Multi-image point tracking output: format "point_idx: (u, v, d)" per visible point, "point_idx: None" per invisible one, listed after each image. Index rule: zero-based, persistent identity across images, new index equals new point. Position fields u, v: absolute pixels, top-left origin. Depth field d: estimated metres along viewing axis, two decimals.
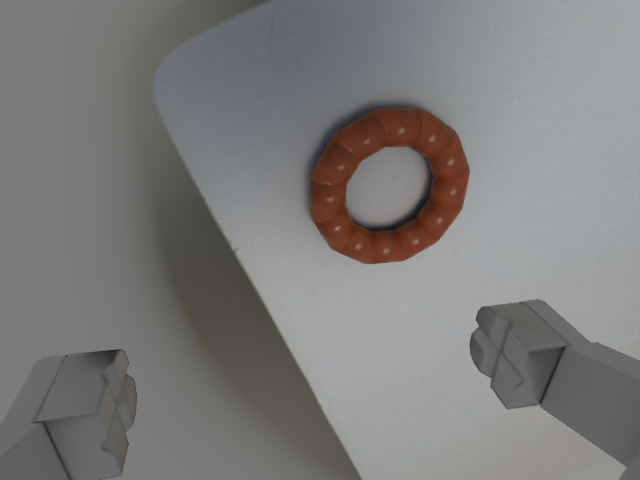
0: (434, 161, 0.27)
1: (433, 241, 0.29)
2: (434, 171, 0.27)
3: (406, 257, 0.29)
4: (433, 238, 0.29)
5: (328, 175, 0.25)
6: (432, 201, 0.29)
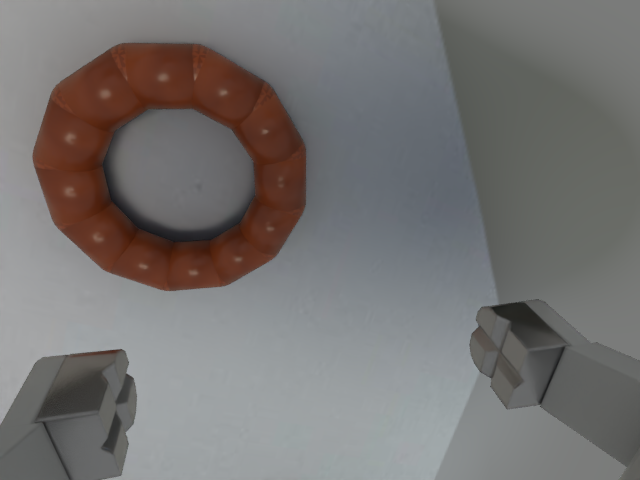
0: (238, 236, 0.19)
1: (106, 264, 0.18)
2: (221, 240, 0.19)
3: (65, 228, 0.17)
4: (111, 264, 0.18)
5: (210, 73, 0.15)
6: (172, 248, 0.19)
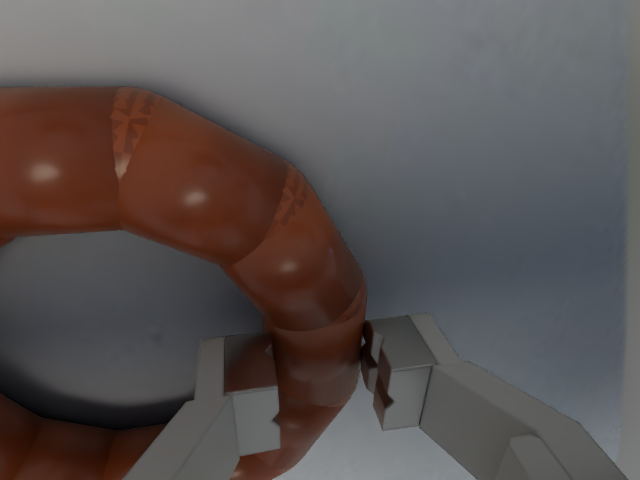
0: None
1: None
2: None
3: None
4: None
5: (159, 162, 0.06)
6: (107, 458, 0.10)
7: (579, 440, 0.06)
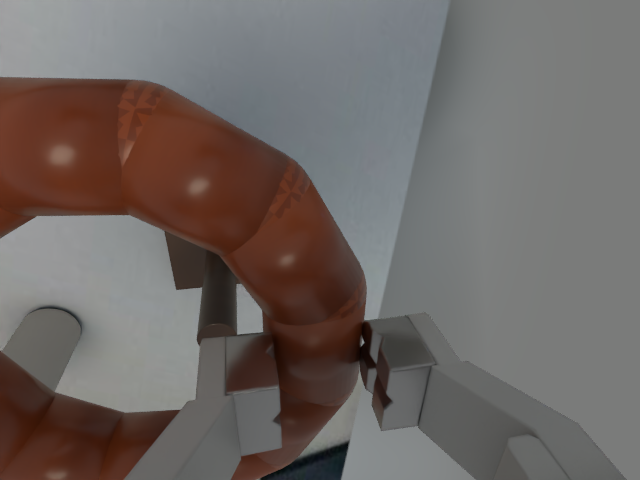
0: None
1: None
2: None
3: None
4: None
5: (160, 150, 0.06)
6: (111, 437, 0.11)
7: (577, 440, 0.06)
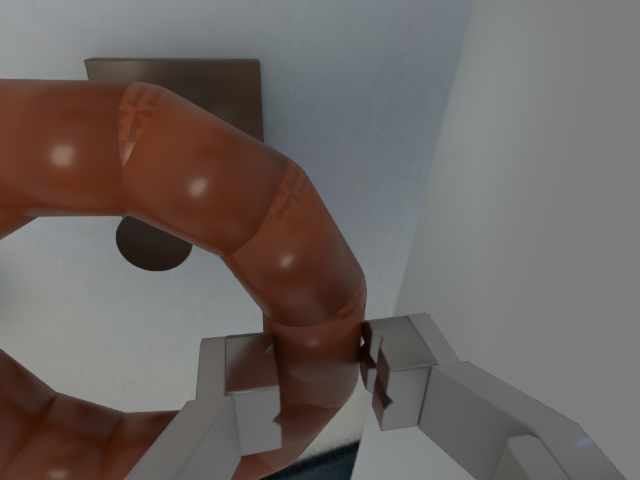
0: None
1: None
2: None
3: None
4: None
5: (161, 152, 0.06)
6: (112, 437, 0.11)
7: (577, 440, 0.06)
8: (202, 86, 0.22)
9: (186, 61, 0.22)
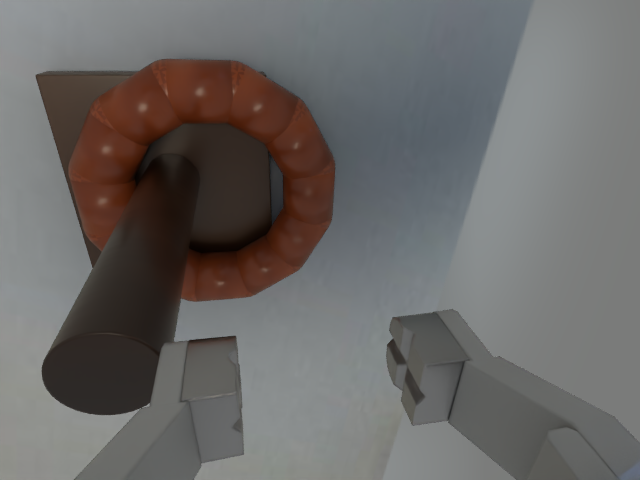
0: (265, 248, 0.19)
1: None
2: (248, 251, 0.20)
3: (97, 240, 0.17)
4: None
5: (248, 89, 0.15)
6: (199, 259, 0.19)
7: (615, 433, 0.06)
8: None
9: None
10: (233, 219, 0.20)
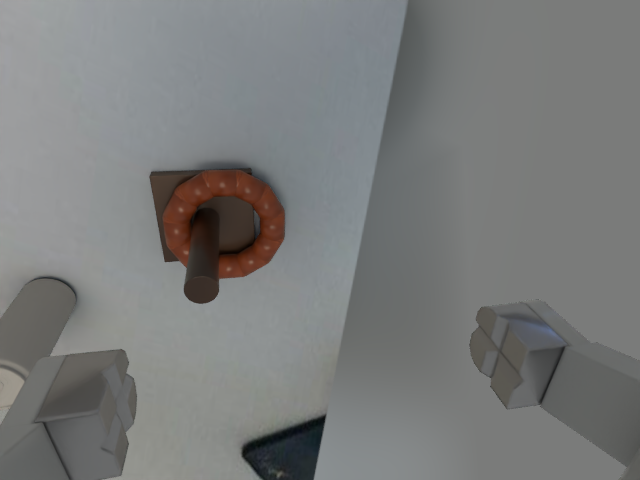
0: (251, 252, 0.39)
1: None
2: (243, 253, 0.40)
3: (173, 248, 0.37)
4: None
5: (243, 183, 0.36)
6: (219, 257, 0.39)
7: None
8: None
9: None
10: (235, 237, 0.40)
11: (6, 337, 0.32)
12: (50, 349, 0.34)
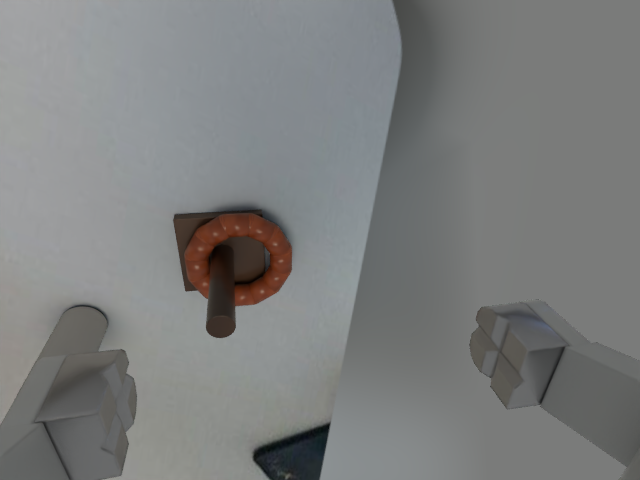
0: (262, 283, 0.44)
1: (207, 296, 0.43)
2: (255, 284, 0.44)
3: (194, 282, 0.42)
4: None
5: (255, 226, 0.40)
6: None
7: None
8: None
9: None
10: (248, 269, 0.45)
11: None
12: None
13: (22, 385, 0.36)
